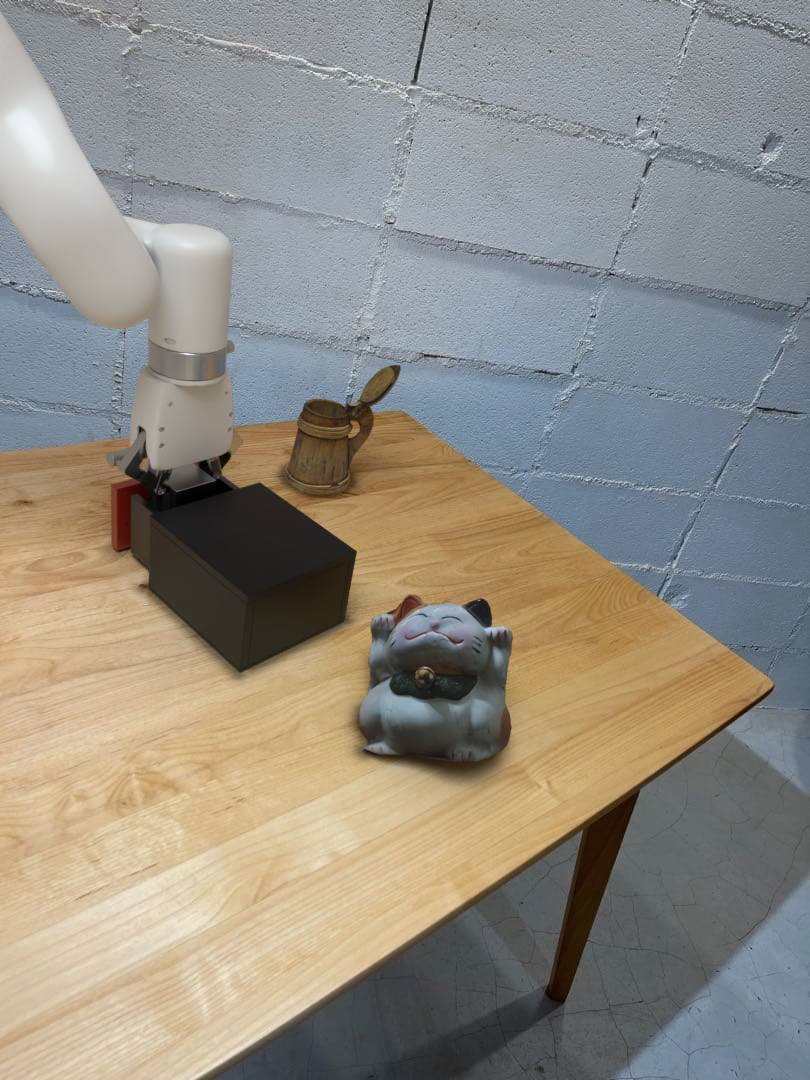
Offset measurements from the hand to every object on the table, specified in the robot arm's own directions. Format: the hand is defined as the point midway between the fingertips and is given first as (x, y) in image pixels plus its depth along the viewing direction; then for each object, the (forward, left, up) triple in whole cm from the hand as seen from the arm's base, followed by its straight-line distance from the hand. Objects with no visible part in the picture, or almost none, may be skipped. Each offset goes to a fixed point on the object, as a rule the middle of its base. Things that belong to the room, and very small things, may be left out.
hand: (181, 511), depth 90 cm
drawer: (+1, 0, -5) cm, 5 cm away
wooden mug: (-4, +27, -6) cm, 28 cm away
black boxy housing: (+12, 0, -6) cm, 14 cm away
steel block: (0, 0, 0) cm, 0 cm away
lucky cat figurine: (+35, +3, -6) cm, 36 cm away
